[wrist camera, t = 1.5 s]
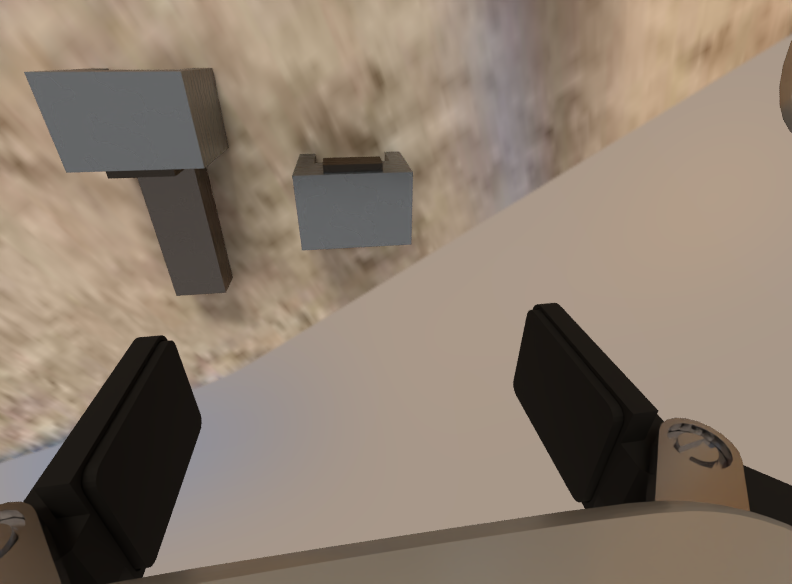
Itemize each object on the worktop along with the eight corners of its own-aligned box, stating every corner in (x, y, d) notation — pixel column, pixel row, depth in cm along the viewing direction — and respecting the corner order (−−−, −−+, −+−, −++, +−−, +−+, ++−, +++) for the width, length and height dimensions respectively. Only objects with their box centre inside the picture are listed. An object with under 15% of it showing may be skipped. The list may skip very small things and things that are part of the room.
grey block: (399, 144, 24) (413, 163, 20) (398, 213, 26) (411, 244, 22) (299, 147, 23) (291, 167, 19) (307, 218, 26) (302, 250, 21)
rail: (212, 68, 21) (180, 71, 17) (255, 276, 27) (240, 317, 23) (89, 68, 20) (23, 71, 16) (163, 281, 27) (130, 324, 22)
